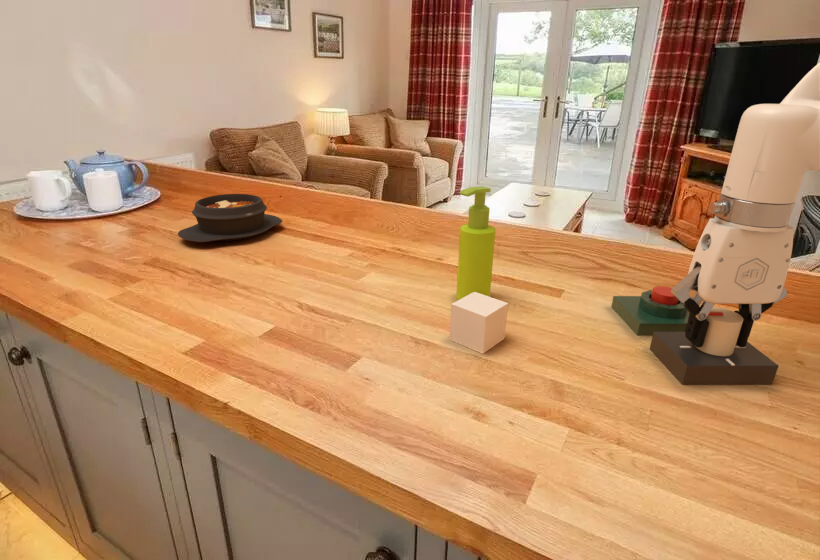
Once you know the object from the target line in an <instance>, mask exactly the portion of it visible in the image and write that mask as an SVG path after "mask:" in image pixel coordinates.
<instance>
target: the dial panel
mask: <svg viewBox="0 0 820 560" xmlns="http://www.w3.org/2000/svg"><path fill="white" fill-rule="evenodd" d="M649 350H650V352H651V353H652V354H653V355H654V356H655V357H656V358H657V360H658V361H660V363H661V364H662V365H663V366H664V367H665V368H666V369H667V370H668V371H669V373H670V374H671V375H672V376H673V377H674V378H675V379H676V380H677V382H678V383H679V384H680V385H682V386H770V385H771V386H772V385H773V383H774V380H775V377H776V376H777V372H778V369H779V364H777V363H776V362H775V361H774V360H773V359H771V358H770V357H768V356H767V355H766V354H764V353H763V352H762V351H760V350H759V349H758V348H756V347H755V346H754V345H753V344H752V343H750V342H748V341H747V344H746V346H745V347H739V346H738V345H735V348H734V352H733V354H732V355H730V356H715V355H711V354H708V353H705V352H703V351H701V350H699V349H697V348H696V347H695V346H694V344H692V343H691V342H690V341H689V340H688V339H687V338H686V337H685V332H653V336H652V337H651V341H650V345H649Z"/></svg>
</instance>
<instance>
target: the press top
mask: <svg viewBox="0 0 820 560" xmlns="http://www.w3.org/2000/svg"><path fill="white" fill-rule="evenodd" d="M672 288H673V287H670V286H661V285H659V286H654V287H652V289H651V290H652V294H651V300H652V301H655V302H657V303H660V304H665V305H677V304H678V301H679V300H678V299H677V298H676V297H675V296H674V295H673V294H672V293H671V289H672Z"/></svg>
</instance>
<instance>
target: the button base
mask: <svg viewBox="0 0 820 560" xmlns="http://www.w3.org/2000/svg"><path fill="white" fill-rule="evenodd" d="M652 290H653V289H649V290H646V291H642V292H641V295H613V296H612V301H611V305H610V306H611V309H612V310H613V311H614V312H615V313H616V314H617V315H618V317H619V318H620V319H621V320H622V321H623V322H624V323H625V324H626V325H627V326H628V327H629V329H630V330H631V331H632V332H633V333H634V334H635V335H636V336H637V337H638V336H641V337H642V336H643V337H645V336H646V337H650V336H652V337H653V332H685V329H686V325H687V322H688V318H689V314H690V312H688V311H687V309H686V308H685V306H684V305H683V304H682V303H681V302H680V301H678V304H677V305H665V304H660V303H657V302H655V301H652V300H651V294H652Z"/></svg>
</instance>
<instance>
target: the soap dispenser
mask: <svg viewBox="0 0 820 560" xmlns="http://www.w3.org/2000/svg"><path fill="white" fill-rule="evenodd" d="M491 191H492V189H491V188H490V187H487V186H470V187H466V188H464V189H462V190H460V191H459V192H458V194H459V195H461V196H465V197H467V198H468V197H471V196H472V195H474V204H472V205H470V206H469V207H468V218H467V223H466V224H462V225H461V226H460V228H459V242H458V243H459V244H458V264H457V280H456V301H458V300H460V299H462V298H464V297H466V296H467V295H469V294H471V293H473V292H477V293H480V294H483V295H486V296H489V297H491V288H492V276H493V265H494V252H495V239H496V228H495V226H492V225H489V224H490V223H489V222H490V221H489V220H490V207H489V206H487V204H486V194H487V193H491Z"/></svg>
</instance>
